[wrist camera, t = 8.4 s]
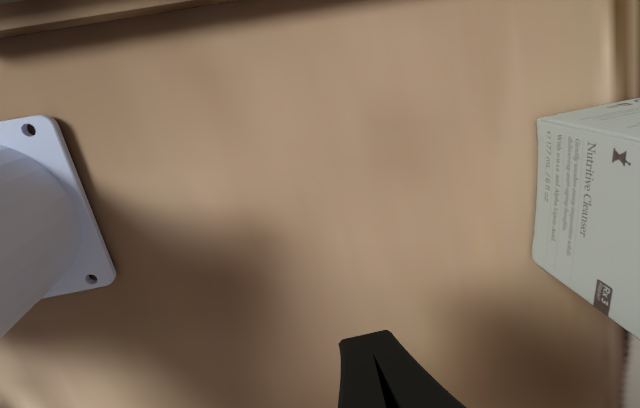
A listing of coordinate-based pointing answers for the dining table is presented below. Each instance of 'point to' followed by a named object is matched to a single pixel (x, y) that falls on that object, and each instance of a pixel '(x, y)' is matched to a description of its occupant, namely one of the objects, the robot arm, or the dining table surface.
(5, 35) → the board
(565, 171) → the skincare box
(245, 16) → the dining table surface
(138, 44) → the dining table surface
